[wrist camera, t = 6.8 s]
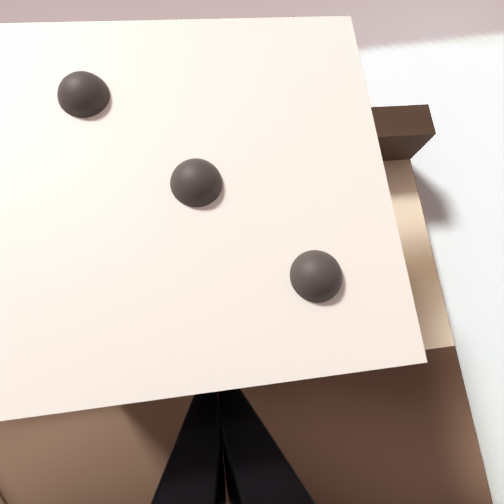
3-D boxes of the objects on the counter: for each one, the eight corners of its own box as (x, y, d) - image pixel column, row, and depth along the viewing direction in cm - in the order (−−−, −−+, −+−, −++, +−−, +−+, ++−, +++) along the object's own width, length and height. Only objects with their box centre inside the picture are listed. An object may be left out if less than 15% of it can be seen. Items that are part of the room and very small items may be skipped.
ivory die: (318, 358, 14) (440, 363, 7) (103, 387, 13) (-44, 429, 6) (288, 169, 16) (356, 0, 8) (97, 182, 15) (-20, 6, 7)
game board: (513, 678, 13) (604, 775, 10) (-65, 822, 11) (-171, 1001, 8) (391, 146, 18) (428, 104, 15) (-29, 174, 16) (-87, 130, 13)
